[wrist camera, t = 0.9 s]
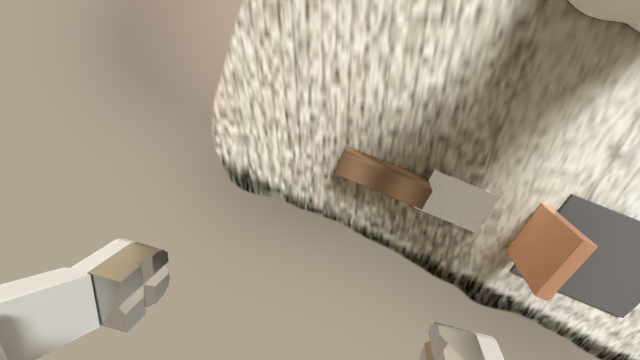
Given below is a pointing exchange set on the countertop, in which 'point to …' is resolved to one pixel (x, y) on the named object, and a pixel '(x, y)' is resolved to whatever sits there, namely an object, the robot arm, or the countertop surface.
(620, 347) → the countertop surface
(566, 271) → the tile
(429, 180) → the turner
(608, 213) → the mat
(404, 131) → the countertop surface
